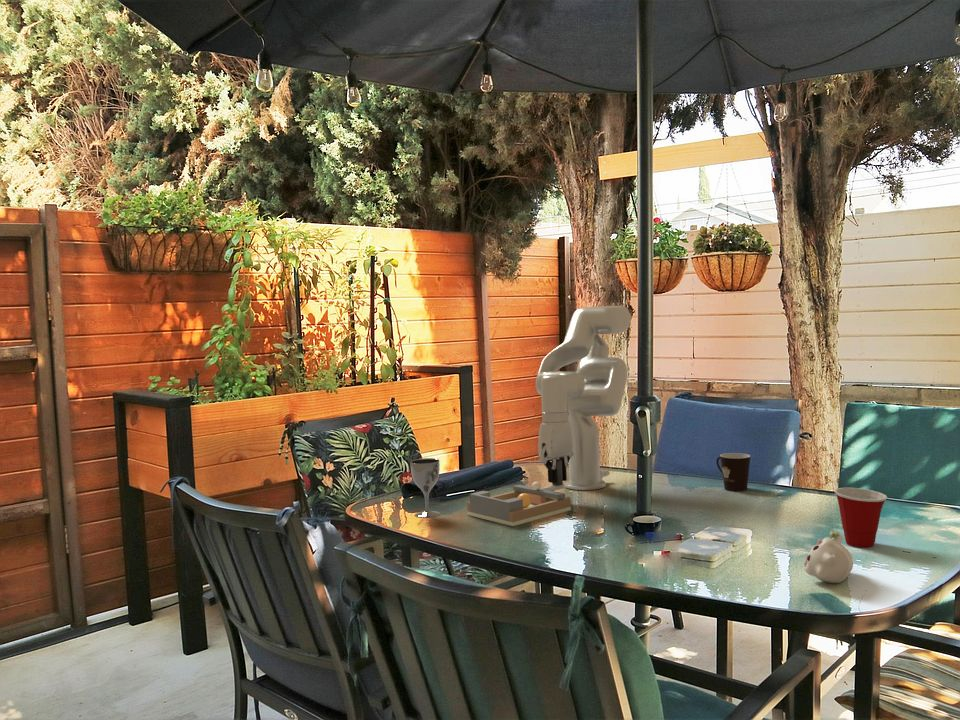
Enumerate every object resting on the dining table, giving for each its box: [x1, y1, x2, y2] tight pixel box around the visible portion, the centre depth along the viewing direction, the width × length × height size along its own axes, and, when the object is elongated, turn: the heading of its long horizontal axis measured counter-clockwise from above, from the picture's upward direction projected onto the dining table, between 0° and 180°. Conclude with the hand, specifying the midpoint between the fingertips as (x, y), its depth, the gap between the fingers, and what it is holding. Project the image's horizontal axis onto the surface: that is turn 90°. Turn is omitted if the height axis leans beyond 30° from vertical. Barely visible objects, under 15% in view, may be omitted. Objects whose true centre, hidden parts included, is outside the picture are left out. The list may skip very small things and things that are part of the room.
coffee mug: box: [716, 452, 751, 493], centre depth 246 cm, size 12×9×10 cm
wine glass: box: [410, 457, 441, 519], centre depth 228 cm, size 8×8×15 cm
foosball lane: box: [466, 490, 572, 527], centre depth 227 cm, size 22×18×6 cm
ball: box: [517, 493, 531, 508], centre depth 228 cm, size 4×4×4 cm
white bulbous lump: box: [804, 530, 854, 584], centre depth 164 cm, size 10×8×15 cm
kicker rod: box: [512, 458, 566, 504], centre depth 234 cm, size 12×18×11 cm, turn 41°
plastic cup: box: [834, 487, 888, 549], centre depth 186 cm, size 11×11×12 cm
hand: (557, 480), depth 237 cm, fingers closed on kicker rod, 3 cm apart
